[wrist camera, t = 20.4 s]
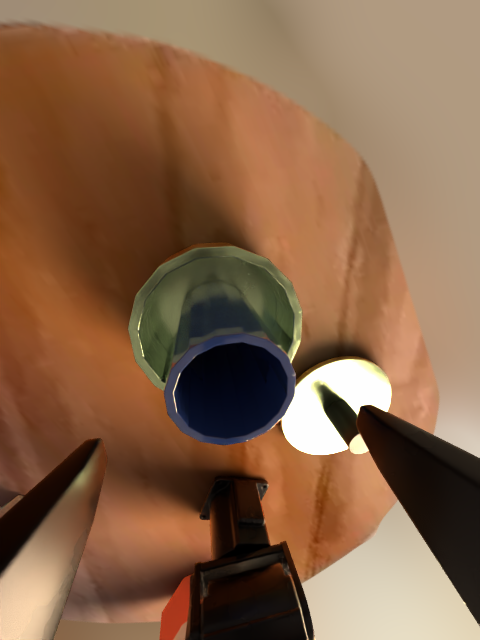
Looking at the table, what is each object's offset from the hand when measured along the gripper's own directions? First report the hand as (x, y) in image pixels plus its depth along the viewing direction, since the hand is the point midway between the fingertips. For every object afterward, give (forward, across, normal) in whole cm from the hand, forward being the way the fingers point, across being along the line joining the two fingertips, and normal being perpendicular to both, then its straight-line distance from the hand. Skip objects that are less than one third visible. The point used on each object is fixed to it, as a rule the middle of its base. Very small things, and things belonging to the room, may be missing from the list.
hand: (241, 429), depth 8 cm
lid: (+12, -12, +11) cm, 20 cm away
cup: (+12, 0, 0) cm, 12 cm away
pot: (+12, 0, 0) cm, 12 cm away
